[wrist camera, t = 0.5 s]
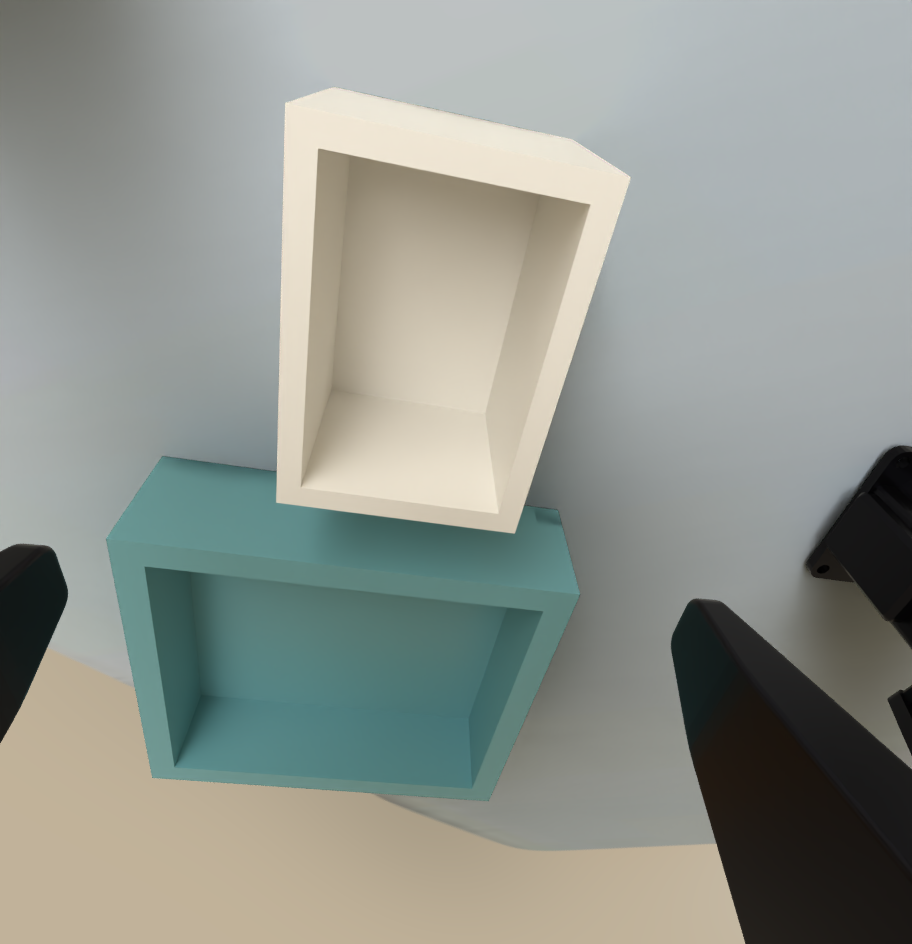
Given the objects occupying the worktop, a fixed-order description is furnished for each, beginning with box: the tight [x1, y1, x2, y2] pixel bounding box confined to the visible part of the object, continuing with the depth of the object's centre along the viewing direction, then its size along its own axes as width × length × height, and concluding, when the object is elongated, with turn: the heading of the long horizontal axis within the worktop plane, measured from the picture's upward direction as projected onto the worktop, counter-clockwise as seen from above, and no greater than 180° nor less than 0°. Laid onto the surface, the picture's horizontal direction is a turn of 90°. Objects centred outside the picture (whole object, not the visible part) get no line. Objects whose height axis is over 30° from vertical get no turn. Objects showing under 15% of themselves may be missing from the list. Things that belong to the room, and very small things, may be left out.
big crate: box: [106, 456, 580, 801], centre depth 25 cm, size 15×14×4 cm
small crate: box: [276, 87, 631, 534], centre depth 16 cm, size 6×9×6 cm
